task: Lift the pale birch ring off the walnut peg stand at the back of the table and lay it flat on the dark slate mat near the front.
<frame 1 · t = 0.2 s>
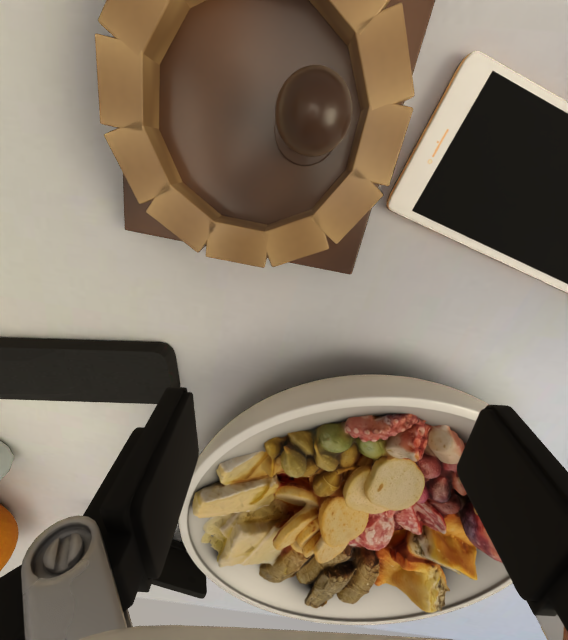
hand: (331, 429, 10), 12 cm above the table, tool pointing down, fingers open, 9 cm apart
bowl: (352, 483, 30), on the table
cell phone: (538, 197, 18), on the table
remote control: (84, 364, 25), on the table
ring: (258, 120, 16), point 1 cm above the table, touching peg stand
peg stand: (260, 122, 17), on the table
handheld gaming console: (158, 539, 36), on the table
walkman: (545, 555, 35), on the table
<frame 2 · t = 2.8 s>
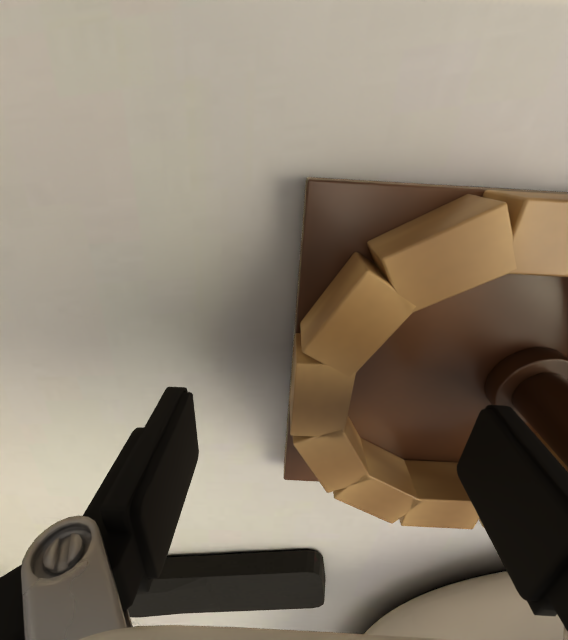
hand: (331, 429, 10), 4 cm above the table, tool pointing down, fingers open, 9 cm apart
bowl: (512, 636, 27), on the table
remote control: (218, 568, 23), on the table
ring: (464, 376, 13), point 1 cm above the table, touching peg stand
peg stand: (453, 362, 14), on the table
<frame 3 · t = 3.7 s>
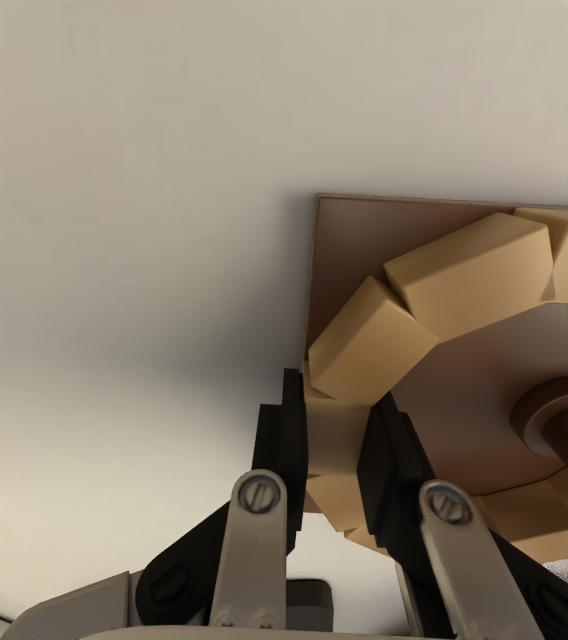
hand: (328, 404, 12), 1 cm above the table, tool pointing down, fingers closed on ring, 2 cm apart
remote control: (220, 597, 21), on the table
ring: (487, 407, 12), point 1 cm above the table, touching gripper, peg stand
peg stand: (475, 389, 13), on the table
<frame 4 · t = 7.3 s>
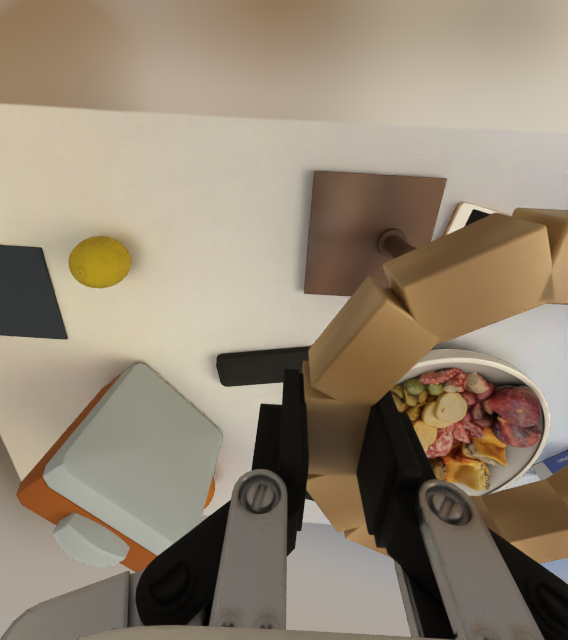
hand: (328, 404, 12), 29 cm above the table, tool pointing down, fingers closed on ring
bowl: (422, 420, 50), on the table
cell phone: (505, 252, 38), on the table
remote control: (269, 363, 46), on the table
mat: (7, 293, 43), on the table
ring: (487, 407, 12), point 29 cm above the table, touching gripper
peg stand: (367, 239, 38), on the table
alarm clock: (167, 409, 51), on the table, touching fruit
walkman: (556, 459, 53), on the table
lemon: (120, 252, 40), on the table
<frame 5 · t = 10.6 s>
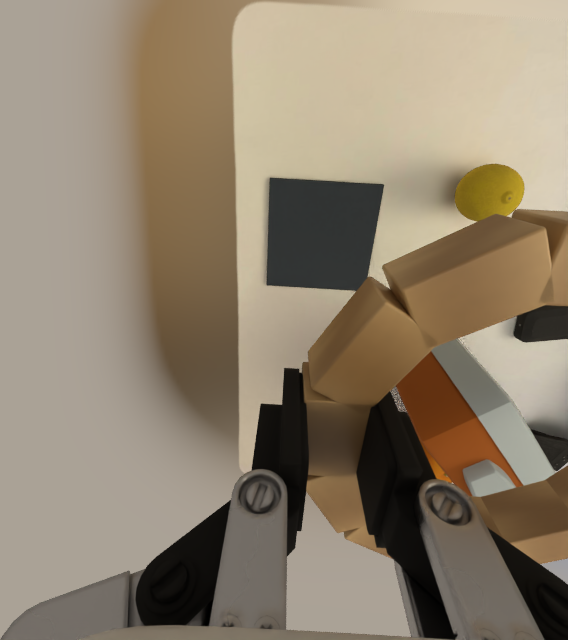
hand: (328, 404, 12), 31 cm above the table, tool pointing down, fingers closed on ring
mat: (320, 238, 39), on the table
ring: (487, 408, 12), point 31 cm above the table, touching gripper
handheld gaming console: (545, 440, 54), on the table
alarm clock: (431, 368, 48), on the table, touching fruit
lemon: (467, 190, 37), on the table
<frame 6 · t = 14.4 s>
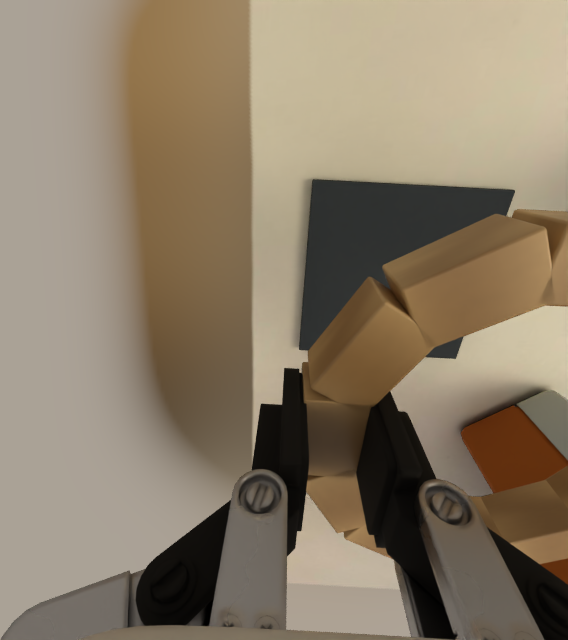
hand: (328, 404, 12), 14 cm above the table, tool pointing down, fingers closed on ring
mat: (391, 278, 24), on the table
ring: (487, 408, 12), point 14 cm above the table, touching gripper
alarm clock: (533, 458, 32), on the table, touching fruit
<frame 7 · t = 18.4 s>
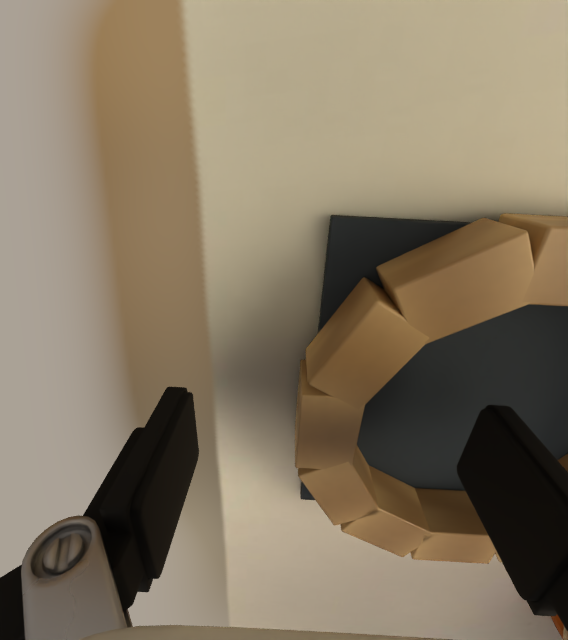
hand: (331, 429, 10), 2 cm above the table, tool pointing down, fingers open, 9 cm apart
mat: (476, 394, 13), on the table
ring: (478, 404, 12), resting on mat
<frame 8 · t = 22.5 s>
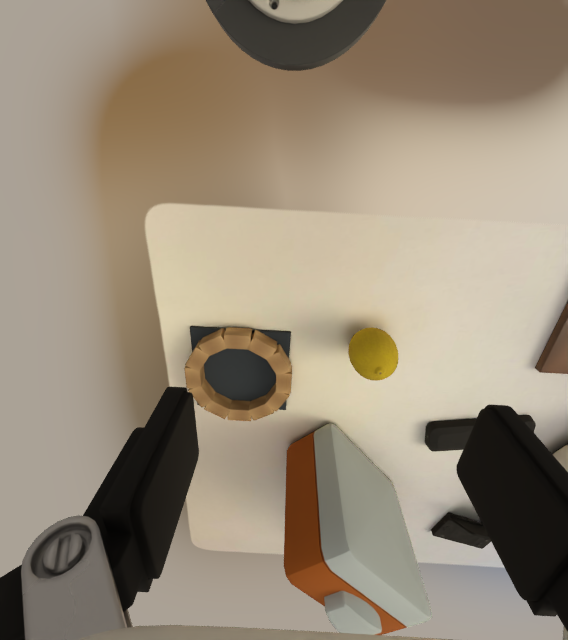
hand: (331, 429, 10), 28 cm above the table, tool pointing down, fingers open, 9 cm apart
remote control: (475, 429, 48), on the table
mat: (241, 369, 44), on the table
ring: (240, 372, 44), resting on mat
handheld gaming console: (469, 522, 58), on the table
alarm clock: (341, 462, 52), on the table, touching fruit
lemon: (365, 335, 41), on the table
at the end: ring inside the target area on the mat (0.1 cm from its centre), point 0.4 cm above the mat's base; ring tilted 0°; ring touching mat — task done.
